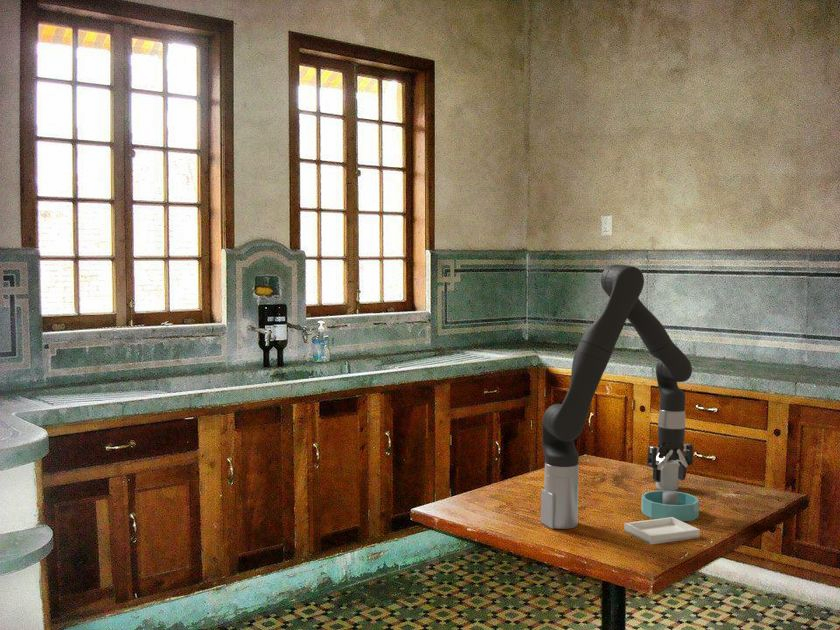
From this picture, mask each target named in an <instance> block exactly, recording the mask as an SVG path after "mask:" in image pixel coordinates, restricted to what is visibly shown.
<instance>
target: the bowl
mask: <svg viewBox="0 0 840 630" xmlns="http://www.w3.org/2000/svg"><path fill="white" fill-rule="evenodd" d="M663 492H667V491H664V490H659V489H657V490H653V491H647V492H644V493H643V494H641V502H640V503H641V509H640V510H641V513H642V515H645V516H646V517H648V518H650V519H652V520H653V519H661V518H669V517H673V518H675V519H678V520H680V521H682V522H690V521H694V520H696V519H698V518H700V517H699V516H700V501H699V499H698V497H697V496H696V495H695V496H694V495H692V494H689V493H687V492H682V491H681V492H680V491H678V490H676V491H670V492H676V493H678V505H666V504H662V499H663Z"/></svg>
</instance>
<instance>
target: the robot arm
mask: <svg viewBox="0 0 840 630" xmlns="http://www.w3.org/2000/svg"><path fill="white" fill-rule="evenodd" d="M644 284H645V278H644V274H643V272H642V270H641V269H639V268H638V267H636V266H633V265H626V264H611V265H609V266H607V267H605V268H604V270H603V271H602V273H601V276H600V285H601V287H602V290H603V292H604V293H605V294H606V295H607V297H609V298H608V301H607V303H606V306H605V307H604V309H603V311H602V312H601V313H600V315H598V317H597V318H596V319H595V320H594V321H593V323H591V324H590V326H589V327H588V328H587V329H586V330H585V331H584V333H583V335H582V336H581V338H580V341H579V343H578V346H577V348H576V349H575V351H574V352H575V353H574V355H573V359H572V364H571V373H570V383H569V387H568V389H567V392H566V395H565V397H564V399H563V401H562V403H554V404H552V405H550V406H549V407H548V408H547V409H546V410H545V412H544V414H543V417H542V420H541V421H542V423H541V424H542V425H541V429H542V430H541V433H542V434H541V436H542V437H541V438H542V451H543V455H544V488H542V489H541V490H540V492H541V496H540V497H541V499H540V502H541V503H540V523H541V524H543V525H544V526H546V527H548V528H549V529H551V530H552V529H553V530H554V529H557V530H558V529H559V530H569V529H574V528H576V527H577V526H578V522H579V521H578V517H579V516H578V513H579V509H578V508H579V507H578V506H579V469H580V468H579V462H580V461H579V460H580V457H579V453H578V451H577V448H576V445H575V440H576V439H577V438H578V437H579V436H580V434H581V433H582V431H583V429H584V427H585V424H586V420H587V417H588V413H589V411H590V407H591V404H592V401H593V398H594V395H595V394H596V392H597V389H598V386H599V385H600V382H601V379H602V377H603V375H604V372H605V370H606V369H607V367H608V364H609V361H610V359H611V356H612V354H613V352H614V351H615V350H614V349H615V346H616V344H617V342H618V340H619V337H620V335H621V333H622V330H623V329H624V326H625V323H626V321H627V320H628V322H629V323H630V324H631V325H632V328H633V329H634V330H635V332H636V333H637V334H638V336H639V338H640V339H641V341H642V343H643V344H644V346H645V347H646V349H647V351H648V352H649V353H650V355H651V356H652V357H654V358H655V359H657V360H658V361H657V362H656V367H655V377H656V382H657V388H658V391H659V394H660V395H659V412H658V417H657V419H658V421H657V441H658V444H657V446H653V445H648V447H647V458H646V459H647V460H646V461H647V462H646V465H647V466H648V467H649V468H652V480H653V481H654V482H655V483H656V482H660V481H661V470H660V469H661V467H662V466H663V464H665V463H666V461H671V460H676V461H677V462H678V464H679V467H678V479H679V481H680V480H681V481H685V480H686V477H687V468H688V466H692V465H693V464H694V445H692V444H691V443H688V442H686V441H685V438H686V392H685V391H684V390H682V389H680V387H679V385H678V383H684V382H686V381H688V380H689V379H690V378H691V376H692V374H693V368H692V367H693V366H692V363H691V361H690V360H689V358H688V357H687V356H686V354H685V353H684V352H683V351H682V350H681V349H680V348H679V347H678V346H677V345H676V344H675V343H674V342H673V340H672V339H671V337H670V335H669V334H668V332H667V330H666V328H665V327H664V325H663V324H662V322H660V320H659V319H658V318H657V317H656V316H655V315H654V314H653V313H652V312H651V311H650V310H649V309H648V308H647V307H646V305H644V304H643V302H642V301H641V299H640V298H639V297H640V295H641V293H642V291H643V289H644ZM661 458H663V459H661Z"/></svg>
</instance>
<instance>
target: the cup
mask: <svg viewBox="0 0 840 630" xmlns="http://www.w3.org/2000/svg"><path fill="white" fill-rule="evenodd" d="M661 459H663V458H662V457H661ZM679 466H680V465H679V464H678V462H677V461H676V460H671V461H666V463H665V464H663V466H662V467H661V469H660V470H661V481H660V482H655V488H656V489H657V490H663V491H678V490H679V487H680V479H678V467H679Z"/></svg>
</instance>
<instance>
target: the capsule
mask: <svg viewBox="0 0 840 630" xmlns="http://www.w3.org/2000/svg"><path fill="white" fill-rule="evenodd" d="M662 504H666V505H678V493H676V492H670V491H667V492H663V499H662Z"/></svg>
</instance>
